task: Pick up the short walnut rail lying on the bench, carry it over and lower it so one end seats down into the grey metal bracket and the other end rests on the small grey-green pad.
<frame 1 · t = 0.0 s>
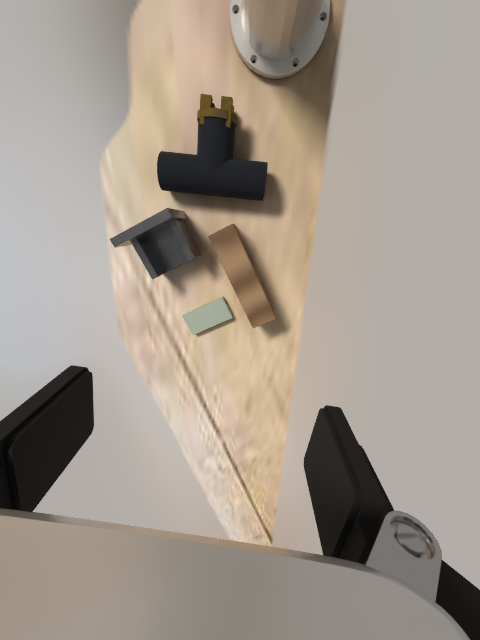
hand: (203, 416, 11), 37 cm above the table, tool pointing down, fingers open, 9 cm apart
walnut rail: (244, 273, 47), on the table
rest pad: (208, 315, 49), on the table
grey metal bracket: (169, 242, 45), on the table
pipe connector: (217, 155, 41), on the table
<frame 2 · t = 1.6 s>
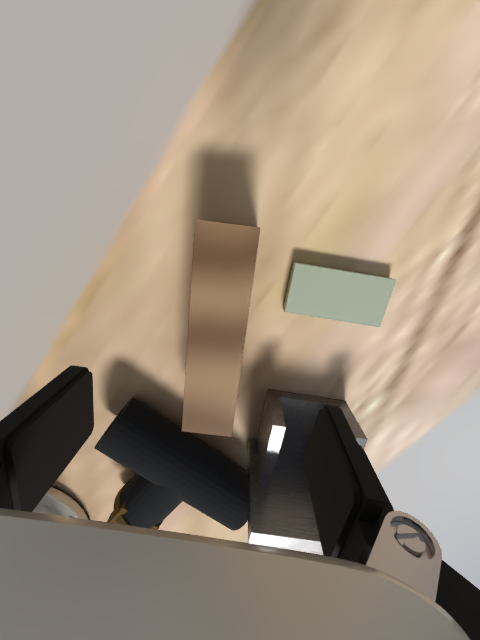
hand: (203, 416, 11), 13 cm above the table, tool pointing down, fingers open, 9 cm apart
walnut rail: (221, 320, 24), on the table
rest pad: (335, 293, 23), on the table
grey metal bracket: (297, 429, 27), on the table
pipe connector: (169, 460, 29), on the table
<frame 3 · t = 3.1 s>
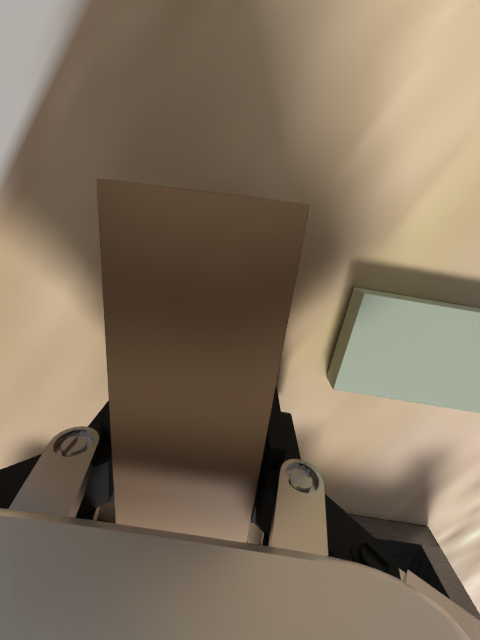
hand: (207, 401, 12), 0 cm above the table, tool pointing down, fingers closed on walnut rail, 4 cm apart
walnut rail: (208, 394, 12), on the table, touching gripper
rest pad: (434, 349, 11), on the table
grey metal bracket: (339, 563, 16), on the table
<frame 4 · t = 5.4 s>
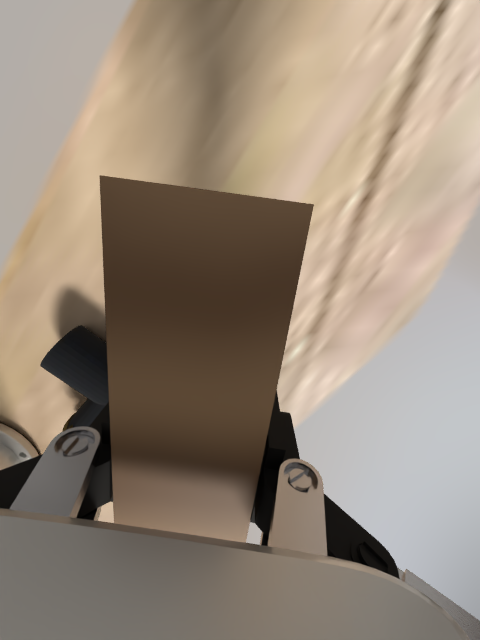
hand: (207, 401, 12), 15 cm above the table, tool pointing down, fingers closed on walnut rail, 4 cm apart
walnut rail: (208, 394, 12), point 15 cm above the table, touching gripper
pipe connector: (121, 394, 31), on the table
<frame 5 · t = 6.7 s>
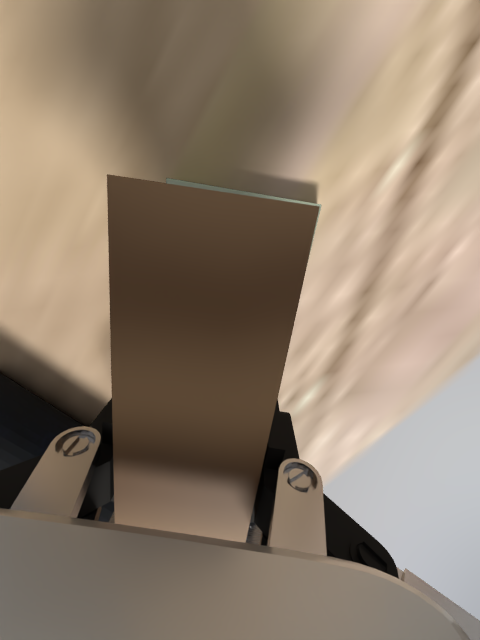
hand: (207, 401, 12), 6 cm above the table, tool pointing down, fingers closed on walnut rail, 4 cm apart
walnut rail: (209, 393, 12), point 6 cm above the table, touching gripper
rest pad: (239, 231, 15), on the table
pipe connector: (63, 456, 22), on the table
when the fingers open (3 cm above the table, at t = 7.7 s): walnut rail drops 1 cm, resting on grey metal bracket, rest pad.
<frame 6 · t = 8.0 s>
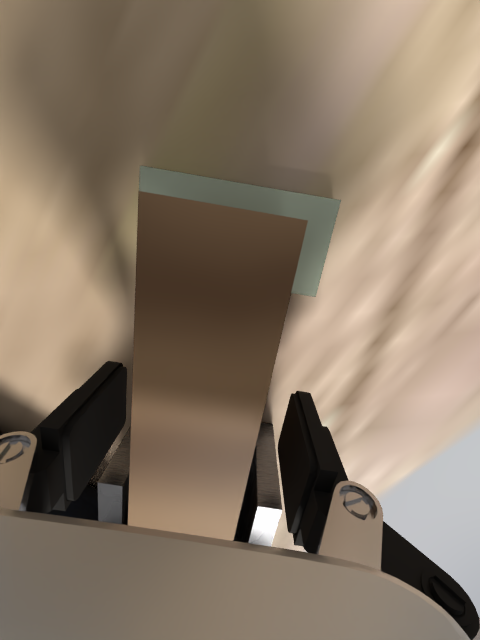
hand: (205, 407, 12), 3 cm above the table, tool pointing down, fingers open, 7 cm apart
walnut rail: (210, 381, 14), point 1 cm above the table, touching grey metal bracket, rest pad
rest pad: (234, 234, 12), on the table
grey metal bracket: (200, 466, 17), on the table
pipe connector: (30, 494, 19), on the table
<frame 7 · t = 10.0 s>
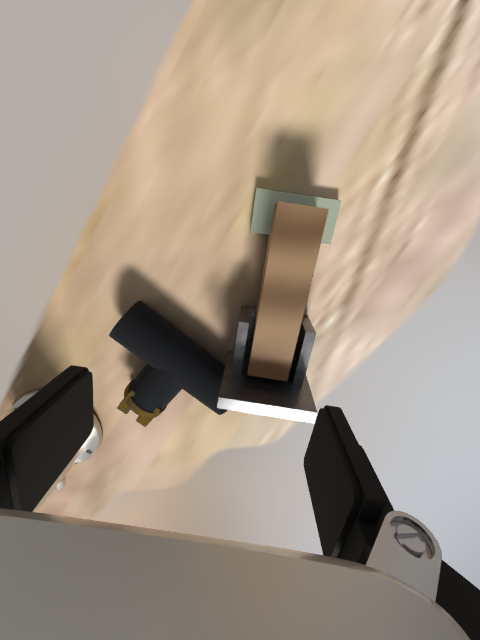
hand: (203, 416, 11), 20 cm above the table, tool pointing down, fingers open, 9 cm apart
walnut rail: (279, 288, 29), point 1 cm above the table, touching grey metal bracket, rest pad
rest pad: (293, 216, 27), on the table
grey metal bracket: (268, 342, 32), on the table
pipe connector: (171, 365, 35), on the table
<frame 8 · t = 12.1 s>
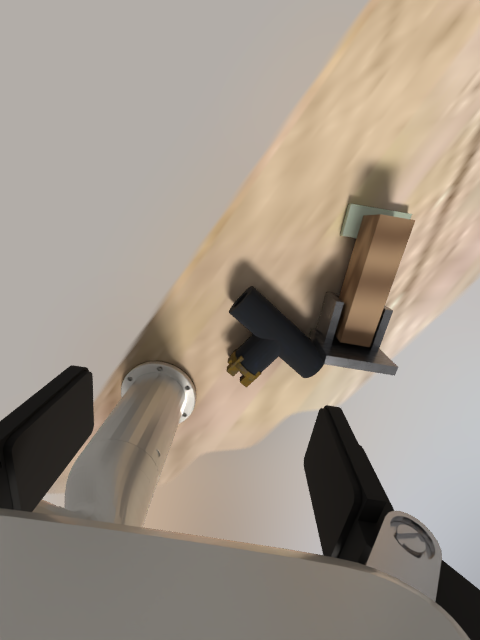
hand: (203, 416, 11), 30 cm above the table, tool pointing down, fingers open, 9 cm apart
walnut rail: (359, 278, 38), point 1 cm above the table, touching grey metal bracket, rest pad
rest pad: (373, 225, 37), on the table
grey metal bracket: (343, 321, 41), on the table
pipe connector: (261, 340, 43), on the table
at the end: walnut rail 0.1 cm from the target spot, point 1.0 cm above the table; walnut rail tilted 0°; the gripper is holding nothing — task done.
